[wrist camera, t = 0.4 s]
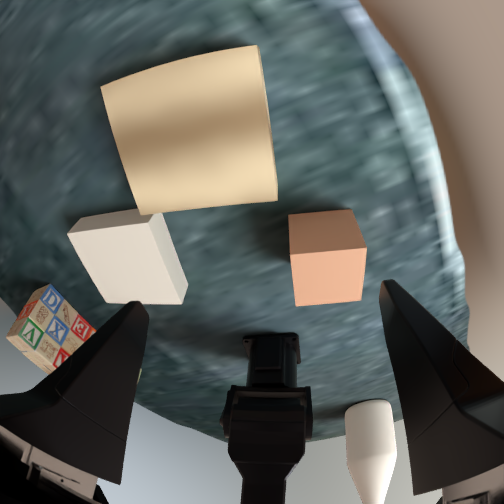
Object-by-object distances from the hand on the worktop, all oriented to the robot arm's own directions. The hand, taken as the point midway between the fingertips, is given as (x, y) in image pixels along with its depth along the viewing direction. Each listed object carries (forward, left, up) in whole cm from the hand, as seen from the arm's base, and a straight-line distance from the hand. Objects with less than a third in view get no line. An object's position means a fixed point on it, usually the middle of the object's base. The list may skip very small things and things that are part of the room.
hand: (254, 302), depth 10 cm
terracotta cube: (-7, -4, -13) cm, 15 cm away
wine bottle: (-49, -14, -13) cm, 52 cm away
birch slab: (+4, +4, -13) cm, 14 cm away
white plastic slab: (-6, +14, -13) cm, 20 cm away
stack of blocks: (-21, +31, -13) cm, 39 cm away
